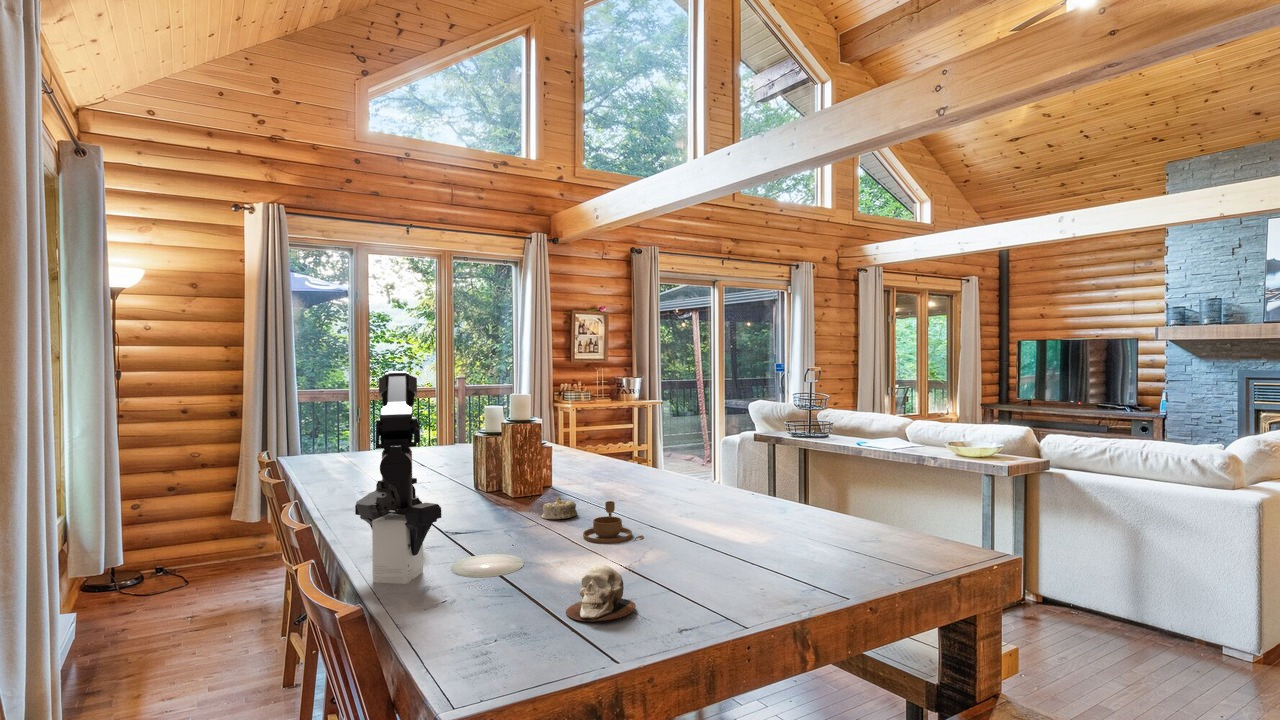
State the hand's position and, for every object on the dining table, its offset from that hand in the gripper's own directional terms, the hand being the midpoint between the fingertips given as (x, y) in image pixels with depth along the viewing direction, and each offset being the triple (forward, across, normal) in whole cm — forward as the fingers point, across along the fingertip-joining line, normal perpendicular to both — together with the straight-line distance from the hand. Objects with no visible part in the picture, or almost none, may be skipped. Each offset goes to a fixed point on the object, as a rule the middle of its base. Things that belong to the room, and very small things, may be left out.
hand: (398, 552), depth 141 cm
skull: (+8, +49, +4) cm, 50 cm away
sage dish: (+5, +11, +14) cm, 18 cm away
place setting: (+6, +21, +49) cm, 54 cm away
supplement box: (+6, 0, 0) cm, 6 cm away
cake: (+5, -2, +58) cm, 58 cm away
